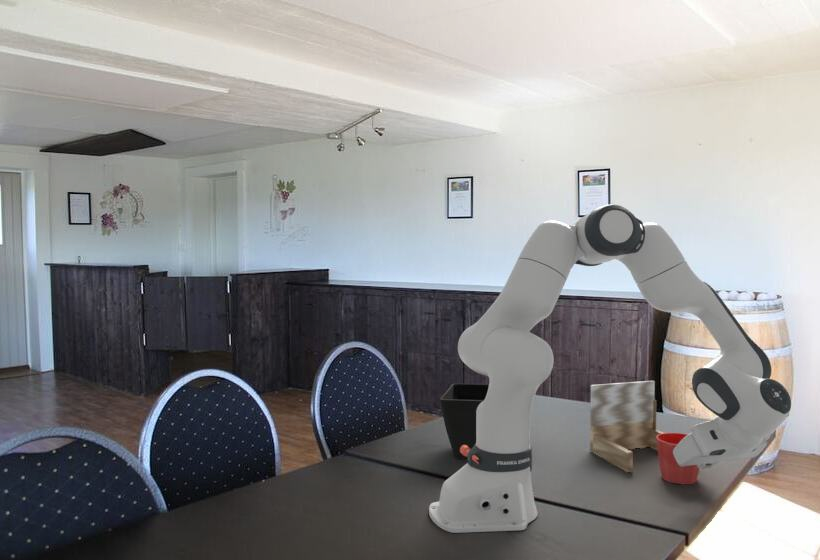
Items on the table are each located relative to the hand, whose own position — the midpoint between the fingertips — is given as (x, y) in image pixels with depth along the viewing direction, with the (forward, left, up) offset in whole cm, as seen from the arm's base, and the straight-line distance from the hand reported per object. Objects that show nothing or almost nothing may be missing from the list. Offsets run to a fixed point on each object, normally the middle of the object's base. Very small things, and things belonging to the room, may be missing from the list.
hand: (702, 465), depth 155 cm
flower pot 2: (0, +8, -6) cm, 10 cm away
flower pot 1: (-38, +39, -6) cm, 55 cm away
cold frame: (0, +23, -6) cm, 24 cm away
